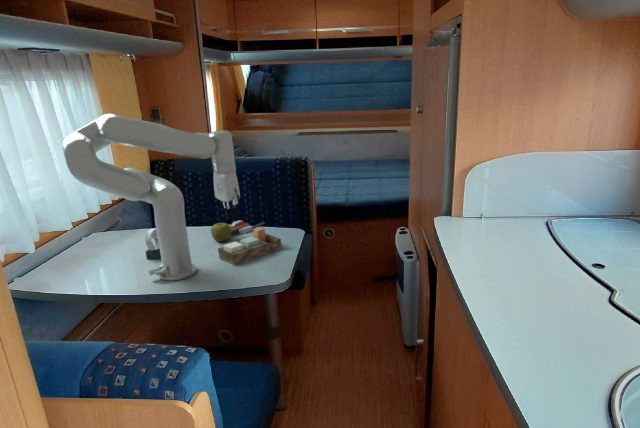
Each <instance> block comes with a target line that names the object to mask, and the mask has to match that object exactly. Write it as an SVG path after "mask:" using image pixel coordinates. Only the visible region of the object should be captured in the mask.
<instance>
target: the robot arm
mask: <svg viewBox="0 0 640 428" xmlns="http://www.w3.org/2000/svg"><path fill="white" fill-rule="evenodd" d="M110 144H115V145H119V146H121V145H122V146H127V147H133V148H134V147H135V148H141V149H145V150H149V151H156V152H161V153H168V154H173V155H179V156H184V157H185V156H186V157H190V158H196V159H203V160H205V159H209V158H211V162H212V170H213V192H214V197H215V199H217V200H219V201H221V202H222V205H223V208H224V214H225V219H226V220H228V221H229V220H233V219H237V218H236V217H237V214H236V205H239V200H240V198H241V194H240V193H241V192H240V186H239V182H238V181H239V180H238V175H237V172H236V171H237V167H236V161H235V153H234V144H233V136H232V132H231V131H229V130H215V131H212V132H190V131H185V130H181V129H177V128H172V127H170V126H168V125H165V124H161V123H157V122H153V121H148V120H147V121H146V120H142V119H138V118H132V117H127V116H122V115H117V114H114V113H106V114H103V115H101V116H99V117H98V118H96V119H94V120H93V121H90V122H89V123H87V124H86V125H84V126H82V127H80V128H78V129H77V130H75V131H74V132H72V133H70V134H68V135H67V136H66V137H65V138H64V139H63V143H62V151H63V152H62V153H63V155H64V159H65V163H66V166H67V168H68V170H69V173H71V175H72V176H73V177H74V179H76V180H77V181H78V182H80V183H81V184H83V185H85V186H88V187H90V188H94V189H96V190H99V191H102V192H105V193H107V194H110V195H114V196H117V197H120V198H123V199H125V200H128V201H130V202H138V201H142V202H146V203H148V204H151V205H152V207H153V213H154V215H153V216H154V223H155V229H156V231H157V236H158V242H159V248H160V254H161V259H160V261H161V262H159V263H158V264H159V265H158V266H156V267H154V268H151V269H148V270H147V272H148V275H149V276H153V275H155V276H156V277H157V276H158V277H159V278H160V279H161V280H164V281H179V280H184V279H187V278H190V277H192V276H193V275H195V274H196V273H197V272H198V267H197V265H196V264H194V263H192V257H191V252H190V245H189V244H190V242H189V238H188V237H189V236H188V229H187V225H186V224H187V223H186V217H185V216H186V215H185V199H184V196H183V193H182V191H181V190H180V188H179V187H178V186H176V185H175V184H174V183H172V182H171V181H169V180H167V179H165V178H162V177H161V176H157V175H154V174H150V173H148V172H145V171H142V170H140V169H137V168H134V167H124V168H122V167H119V166H117V165H114V164H112V163H107V162H105V161H103V160H101V159H100V158H99V157H98V155H97V153H98V152H100V151H101V150H103V149H104V148H106V147H108V146H109V145H110Z"/></svg>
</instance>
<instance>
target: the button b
mask: <svg viewBox="0 0 640 428" xmlns="http://www.w3.org/2000/svg"><path fill="white" fill-rule="evenodd" d="M239 242H240V243H241V244H242V245H243V246H245V247H251V246H254V245H257V244H259V239H256V238H254V236H248V237H246V238H241V239H240V241H239Z"/></svg>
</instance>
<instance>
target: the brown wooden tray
mask: <svg viewBox="0 0 640 428" xmlns="http://www.w3.org/2000/svg"><path fill="white" fill-rule="evenodd" d="M265 238H266V241H265V242H264V241H262V240H259V244H257V245H254V246H251V247H245V246H243V249H242V250H239V251H235V252H232V253H230V252H228V251H226V250H224V246H221V247H218V248H217V249H218V258H219V259H220V260H221V261H224V262H226V263H227V262H228V263H227V264H229V263H230V264H229V265H231V264H232V265H231V266H233V265H234V266H237V265H241V264H243V263H245V262H248V261H252V260H254V259H256V258H260V257H262V256H265V255H268V254H270V253H271V254H272V253H274V252H277V251H279V250H280V251H281V250H282V249H283V248H282V239H281V238H278V237H276V236H273V235H271V234H268V233H266V232H265ZM256 239H257V238H256ZM238 243H240V241H238ZM240 244H241V243H240Z"/></svg>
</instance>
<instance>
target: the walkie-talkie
mask: <svg viewBox="0 0 640 428" xmlns="http://www.w3.org/2000/svg"><path fill="white" fill-rule="evenodd" d="M265 224H266V223H265V222H260V223H258V224H255V225H250V223H249V222H248V223H247V222H245V221H244V220H241V219H239V220H236V221H233V222H232V223H231V224H228V225H229V226H230V228H231V236H230V238H231V237H234V236H237V235H242V233H243V234H247V233H249V232H254V231H253V229H256V228H259V227H261V226H263V225H265Z"/></svg>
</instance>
